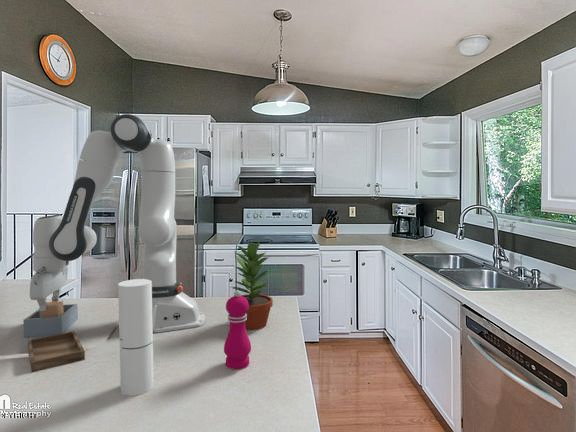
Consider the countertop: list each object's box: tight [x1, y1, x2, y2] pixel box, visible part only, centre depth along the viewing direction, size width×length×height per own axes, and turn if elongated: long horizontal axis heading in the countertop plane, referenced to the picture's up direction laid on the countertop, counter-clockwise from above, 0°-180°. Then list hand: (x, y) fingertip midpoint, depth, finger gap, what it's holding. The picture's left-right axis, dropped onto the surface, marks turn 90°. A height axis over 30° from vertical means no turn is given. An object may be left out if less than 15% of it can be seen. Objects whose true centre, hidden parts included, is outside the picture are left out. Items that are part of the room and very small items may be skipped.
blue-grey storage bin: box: [23, 303, 79, 338], centre depth 122 cm, size 11×15×6 cm
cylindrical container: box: [117, 278, 155, 397], centre depth 86 cm, size 7×7×25 cm
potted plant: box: [230, 241, 274, 331], centre depth 127 cm, size 15×15×30 cm
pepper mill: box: [223, 290, 252, 370], centre depth 98 cm, size 7×7×20 cm
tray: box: [27, 330, 86, 373], centre depth 104 cm, size 18×12×2 cm, turn 38°
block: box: [40, 300, 64, 318], centre depth 122 cm, size 5×5×8 cm
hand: (49, 305), depth 121 cm, fingers open, 8 cm apart
